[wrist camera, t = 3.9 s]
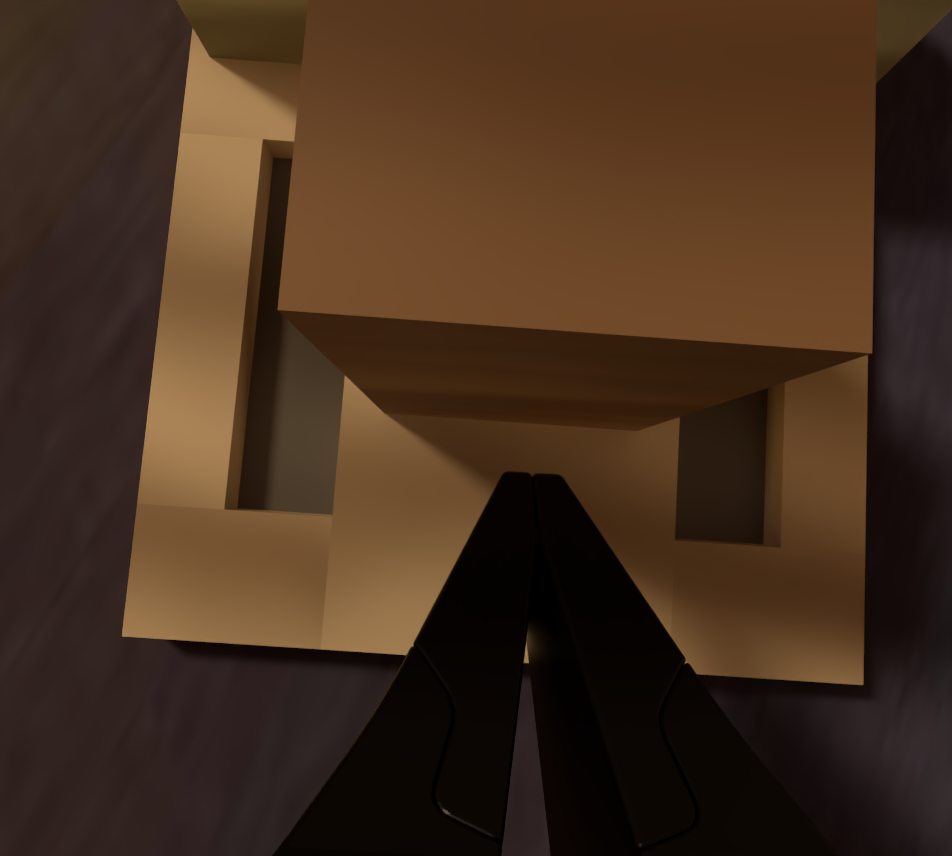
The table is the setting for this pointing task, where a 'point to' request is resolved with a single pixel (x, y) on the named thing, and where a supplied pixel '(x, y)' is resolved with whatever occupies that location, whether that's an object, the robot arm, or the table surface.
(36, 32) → the table surface
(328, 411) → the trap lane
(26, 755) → the table surface
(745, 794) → the robot arm
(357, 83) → the walnut block
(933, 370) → the table surface
